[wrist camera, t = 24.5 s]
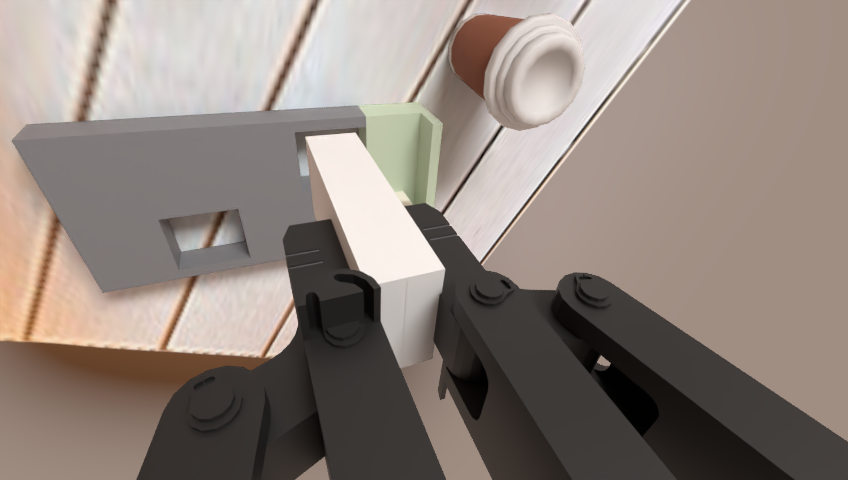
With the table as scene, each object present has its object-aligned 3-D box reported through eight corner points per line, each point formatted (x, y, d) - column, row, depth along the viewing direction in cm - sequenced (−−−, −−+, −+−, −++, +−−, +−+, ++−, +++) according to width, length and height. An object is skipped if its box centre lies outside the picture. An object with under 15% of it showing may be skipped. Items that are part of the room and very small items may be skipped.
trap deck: (109, 272, 38) (95, 316, 34) (26, 124, 29) (-7, 158, 25) (411, 220, 49) (429, 248, 45) (419, 102, 40) (442, 123, 36)
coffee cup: (419, 71, 38) (477, 112, 30) (468, -25, 35) (550, -9, 26) (483, 108, 44) (548, 153, 35) (531, 28, 40) (616, 56, 32)
